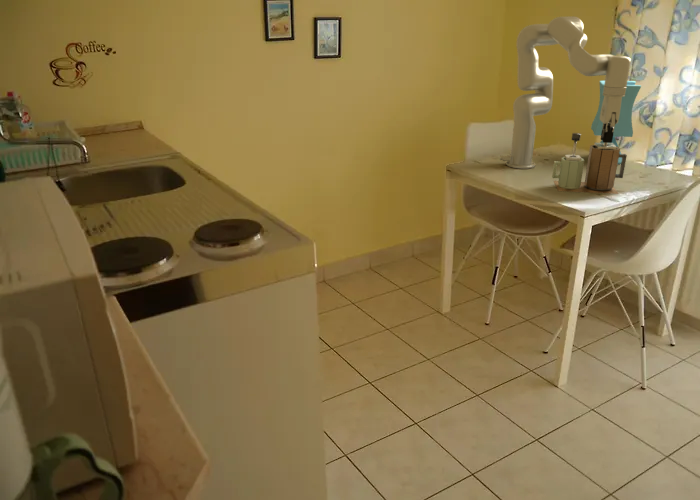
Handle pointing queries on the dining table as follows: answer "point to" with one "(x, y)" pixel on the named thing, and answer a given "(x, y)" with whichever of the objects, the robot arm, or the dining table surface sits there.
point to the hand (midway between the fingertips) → (606, 140)
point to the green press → (569, 171)
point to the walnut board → (584, 189)
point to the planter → (625, 115)
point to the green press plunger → (575, 141)
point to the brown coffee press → (603, 167)
